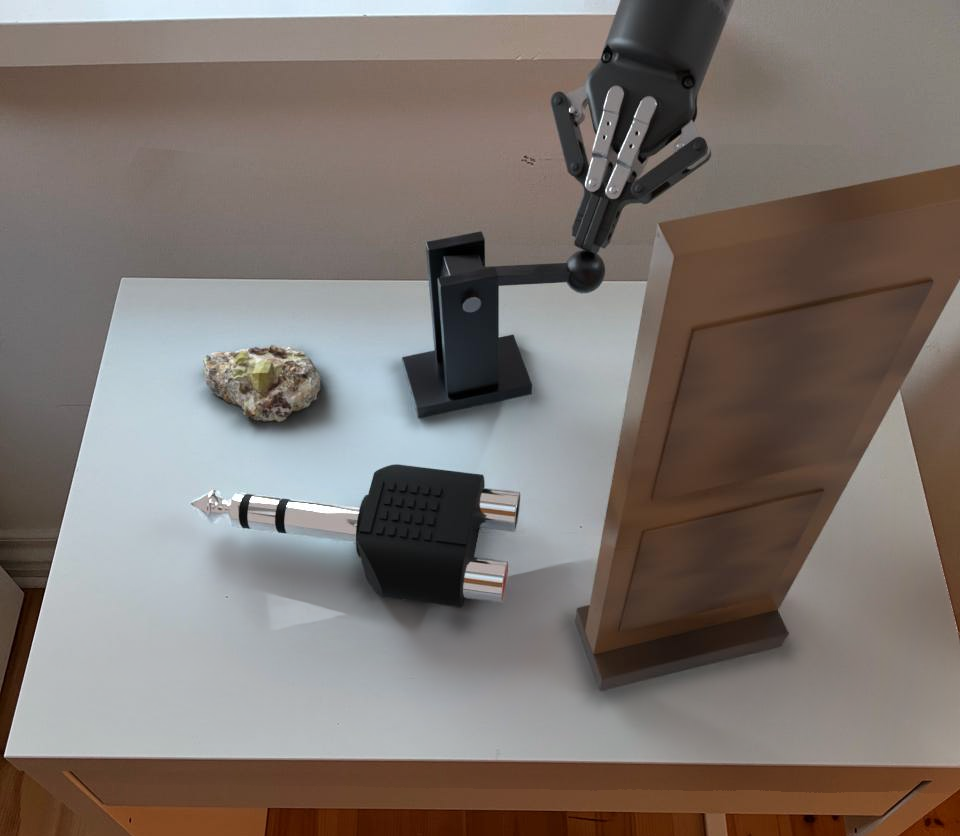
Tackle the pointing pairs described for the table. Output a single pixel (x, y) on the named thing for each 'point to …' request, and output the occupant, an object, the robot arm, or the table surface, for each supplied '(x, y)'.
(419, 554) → the audio adapter
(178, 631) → the table surface
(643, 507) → the door
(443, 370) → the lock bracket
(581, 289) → the lever
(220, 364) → the mineral rock
